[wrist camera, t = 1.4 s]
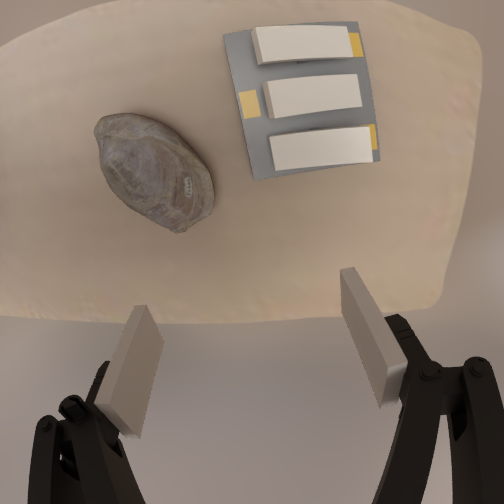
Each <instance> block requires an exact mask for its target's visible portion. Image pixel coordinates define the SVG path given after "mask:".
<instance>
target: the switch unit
mask: <svg viewBox="0 0 504 504" xmlns="http://www.w3.org/2000/svg"><path fill="white" fill-rule="evenodd" d="M290 25H326V26H347V30H348V34H349V39H350V43H351V47H352V52H353V57H352V58H348V59H322V60H307V61H290V62H279V63H269V64H261V65H258V62H257V57H256V53H255V48H254V44H253V40H252V35H251V31H252V30H253V29H251V30H245V31H239V32H234V33H229V34H224V35H223V38H224V42H225V47H226V51H227V56H228V60H229V65H230V69H231V74H232V78H233V83H234V87H235V92H236V96H237V101H238V106H239V110H240V115H241V120H242V124H243V129H244V134H245V139H246V143H247V148H248V153H249V158H250V162H251V167H252V172H253V177H254V181H257V180H262V179H267V178H273V177H278V176H284V175H289V174H295V173H301V172H307V171H313V170H319V169H326V168H332V167H339V166H346V165H353V164H360V163H351V164H338V165H326V166H315V167H305V168H296V169H287V170H278V171H275V165H274V160H273V155H272V149H271V144H270V139H269V137H270V136H271V135H276V134H283V133H291V132H299V131H307V130H315V129H326V128H337V127H349V126H363V125H368V126H369V129H370V138H371V147H372V157H373V162H376V161H380V153H379V142H378V133H377V125H376V117H375V110H374V103H373V96H372V90H371V84H370V78H369V73H368V67H367V62H366V57H365V52H364V48H363V43H362V39H361V34H360V30H359V26H358V22H316V23H301V24H290ZM280 26H289V25H280ZM343 74H357V77H358V83H359V89H360V95H361V101H362V107H354V108H344V109H335V110H327V111H320V112H312V113H306V114H299V115H293V116H287V117H281V118H275V119H269V114H268V109H267V104H266V99H265V94H264V90H263V85H262V83H264V82H267V81H273V80H281V79H290V78H299V77H310V76H324V75H343ZM366 163H368V162H366Z"/></svg>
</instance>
